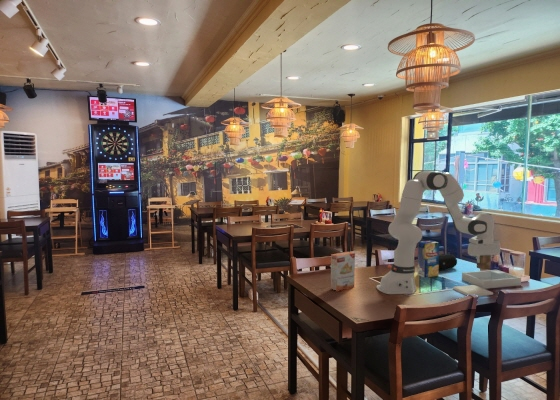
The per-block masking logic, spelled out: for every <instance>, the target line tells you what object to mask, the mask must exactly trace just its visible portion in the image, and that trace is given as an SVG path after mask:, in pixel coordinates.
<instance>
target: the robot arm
mask: <svg viewBox="0 0 560 400" xmlns="http://www.w3.org/2000/svg"><path fill="white" fill-rule="evenodd" d="M425 191H439V193H440V195H441V196H442V198H443V201H444V203H445V207H446V209H447V211H448V213H449V215H450V218H451V219H452V225H453V229H454V230H455V232H458V233H462V234H463V233H464V234H467V235H471V236H472V237H470V238H469V239H468V242H469V243H468V245H467V254H468V255H469V256H471V257H475V259H476V264H477V263H481V260H480V258H479V257H480V256H484V255H489V256H491V259H493V257H494V256H499V255H500V254H501V243H500V242H501V241H500V240H499V239H494V236H495V235H494V229H495V217H494V215H493V214H492V213H487V212H479V213H478V214H477V215H475V216H473V217H468V216H466V215H464V214H463V213H462V211H461V209H460V207H459V204H460V203H461V202H462V201H463V199H464V197H465V193H464V191H463V188H462V187H461V185H460V184H459V182H458V180H457V179H456V178H455V176H454V175H453V174H451V173H450V172H443V173H442V172H440V171H437V170H435V171H433V170H420V171H419V172H417V173H415V174H414V175H413V177H412V178H411V179H409V180H407V181H406V182H405V185H404V187H403V189H402V193H401V198H400V200H399V201H400V202H399V207H398V210H397V212H396V215H395V217H394V219H393V220H392V222H390V223H389V226H388V228H387V229H388V230H387V231H388V233H389V235H390V236H391V237H393V238H394V239H396V240H398V244H397V247H396V248H395V249H394V250H393V264H392V265H391V264H388V265H387V268H388V269H390V270H389V272H387V273H386V274H385V275H383V276H382V277H381V279H380V283H379V284H377V285H376V289H377V290H378V291H379V292H381V293H383V294H387V295H414V294H415V292H417V285H416V281H415V272H416V266H415V253H416V249H417V247H418V242H421V240H422V239H423V231H422V230H421V228H420V227H419V226H417V225H415V224H413V221H414V220H415V218H416V217H417V216H418V215H419V214H420V210H421V206H422V200H423V195H424V193H425Z"/></svg>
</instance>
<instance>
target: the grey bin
mask: <svg viewBox="0 0 560 400" xmlns="http://www.w3.org/2000/svg"><path fill="white" fill-rule="evenodd" d="M491 271H500V272H503V273H505V279H496V280H491ZM461 280H462V281H464V282H466V283H469V284H470V285H476V286H478V287H481V288H483V289H486V290H488V289H495V288H506V287H508V288H509V287H517V286H518V287H519V286H522V285H521V284H522V277H520V276H517V275H514V274H511V273H508V272H505V271H501V270H498V269H488V270H477V271H468V272H467V271H466V272H462V273H461Z"/></svg>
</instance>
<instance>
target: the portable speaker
mask: <svg viewBox="0 0 560 400" xmlns="http://www.w3.org/2000/svg"><path fill="white" fill-rule="evenodd" d="M457 265H458V259H457V258H456V256H455V255H454V254H450V253H446V254H439V271H443V270H449V269H450V270H451V269H453V268H455V267H457Z"/></svg>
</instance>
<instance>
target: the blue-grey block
mask: <svg viewBox="0 0 560 400" xmlns="http://www.w3.org/2000/svg"><path fill="white" fill-rule="evenodd" d="M500 271H501V270H499V271H491V280H496V279H505V273H506V272H505V273H503V272H504V271H502V272H500Z"/></svg>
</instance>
